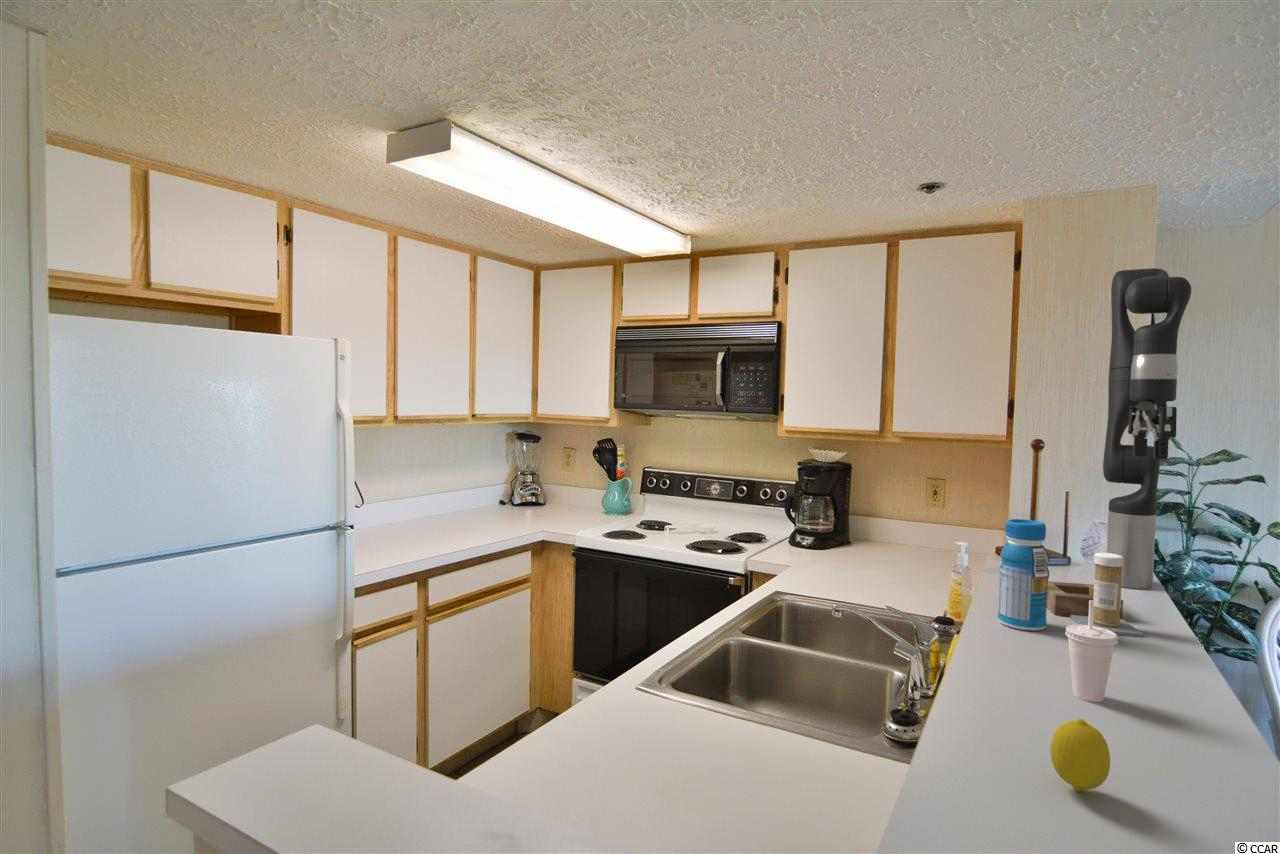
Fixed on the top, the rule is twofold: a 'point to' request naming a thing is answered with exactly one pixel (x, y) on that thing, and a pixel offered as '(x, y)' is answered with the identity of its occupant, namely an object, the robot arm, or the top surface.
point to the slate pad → (1120, 630)
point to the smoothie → (1090, 658)
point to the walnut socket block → (1071, 598)
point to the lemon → (1080, 755)
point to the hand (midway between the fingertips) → (1149, 457)
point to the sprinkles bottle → (1107, 589)
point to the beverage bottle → (1024, 576)
